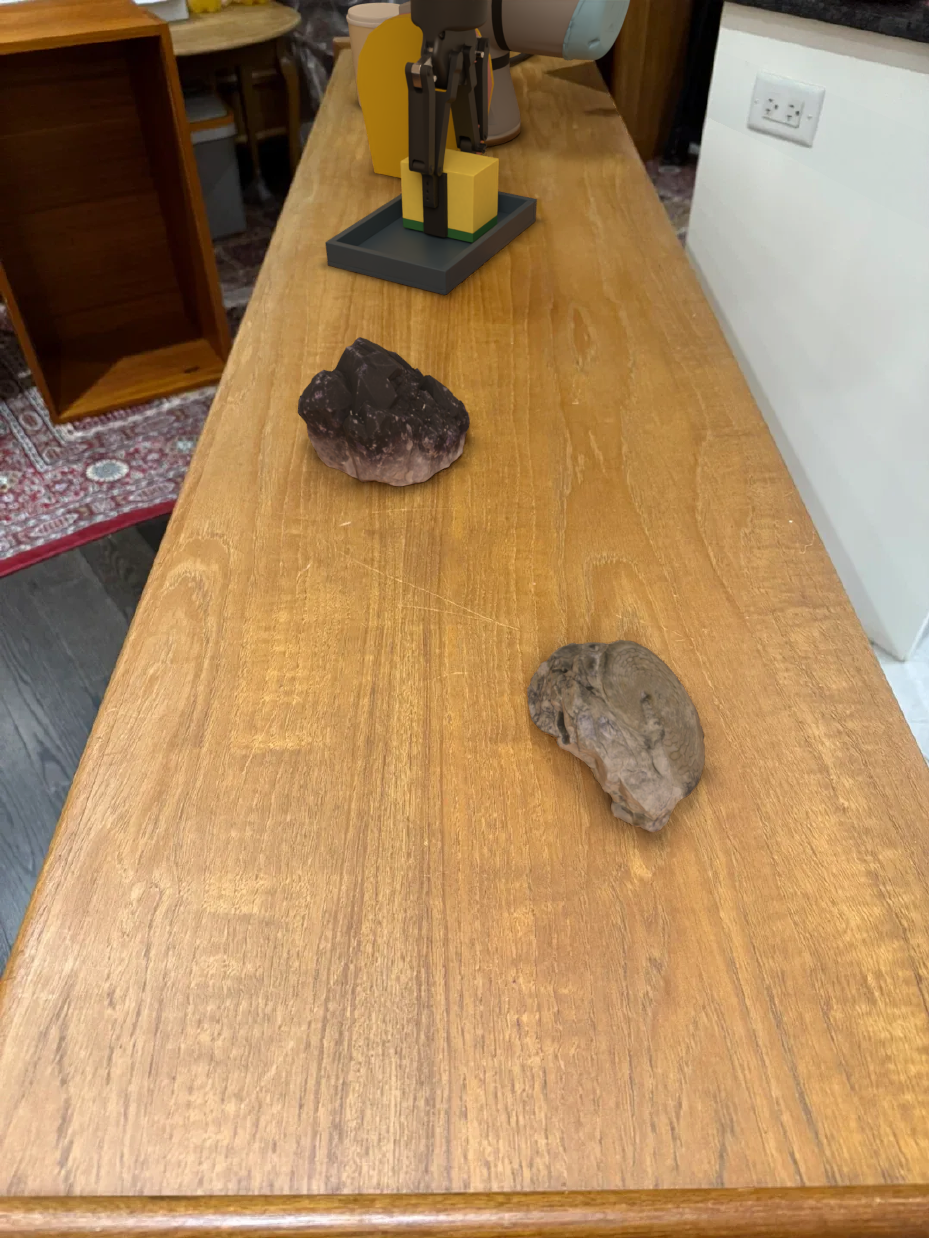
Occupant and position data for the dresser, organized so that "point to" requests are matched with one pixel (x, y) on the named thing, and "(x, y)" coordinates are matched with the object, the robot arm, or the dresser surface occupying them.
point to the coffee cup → (366, 25)
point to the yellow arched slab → (394, 90)
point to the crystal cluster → (382, 417)
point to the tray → (424, 246)
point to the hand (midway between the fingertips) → (450, 223)
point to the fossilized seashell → (622, 725)
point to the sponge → (457, 195)
